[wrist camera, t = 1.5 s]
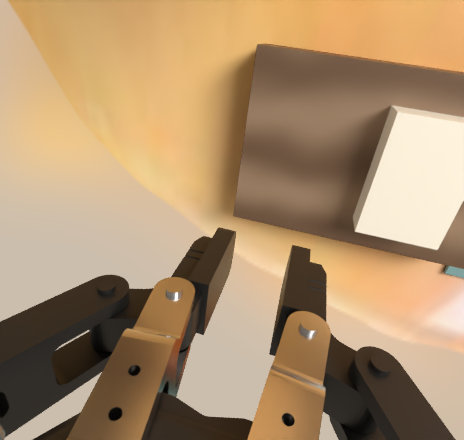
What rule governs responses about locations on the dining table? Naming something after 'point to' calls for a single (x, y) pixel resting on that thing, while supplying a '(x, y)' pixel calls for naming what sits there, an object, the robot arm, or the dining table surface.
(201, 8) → the dining table surface
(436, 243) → the tile
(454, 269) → the mat
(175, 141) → the dining table surface
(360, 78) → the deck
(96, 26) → the dining table surface
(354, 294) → the dining table surface
